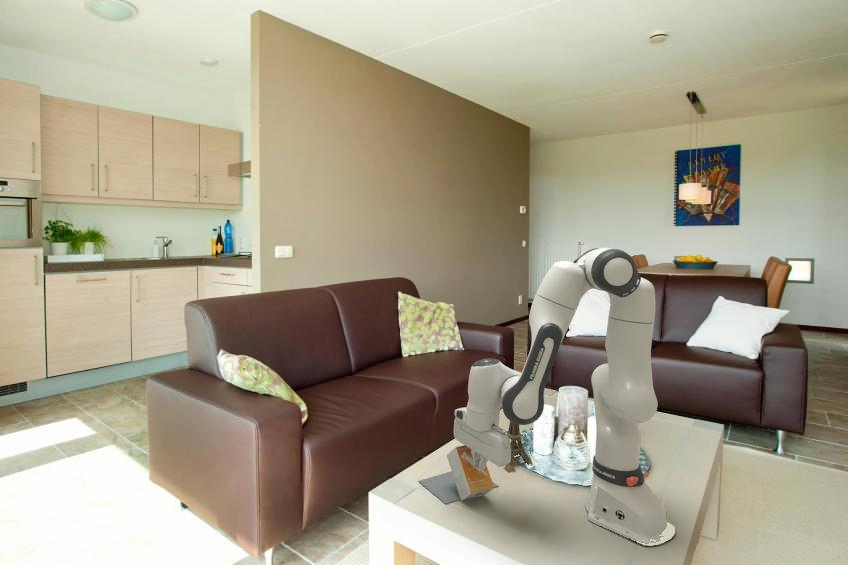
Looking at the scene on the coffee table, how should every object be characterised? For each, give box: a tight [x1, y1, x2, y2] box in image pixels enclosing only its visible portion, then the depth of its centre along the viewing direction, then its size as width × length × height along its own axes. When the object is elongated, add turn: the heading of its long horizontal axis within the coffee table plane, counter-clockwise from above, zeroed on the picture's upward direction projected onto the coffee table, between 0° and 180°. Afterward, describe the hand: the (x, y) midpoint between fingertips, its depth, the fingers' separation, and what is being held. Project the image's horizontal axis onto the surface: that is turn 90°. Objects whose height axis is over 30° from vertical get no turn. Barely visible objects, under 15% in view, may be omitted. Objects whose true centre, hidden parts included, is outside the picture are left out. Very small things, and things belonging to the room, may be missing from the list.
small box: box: [446, 445, 495, 501], centre depth 138 cm, size 8×6×13 cm
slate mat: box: [417, 470, 499, 505], centre depth 144 cm, size 14×19×1 cm
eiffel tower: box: [503, 420, 534, 474], centre depth 158 cm, size 11×11×25 cm
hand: (479, 467), depth 133 cm, fingers closed
